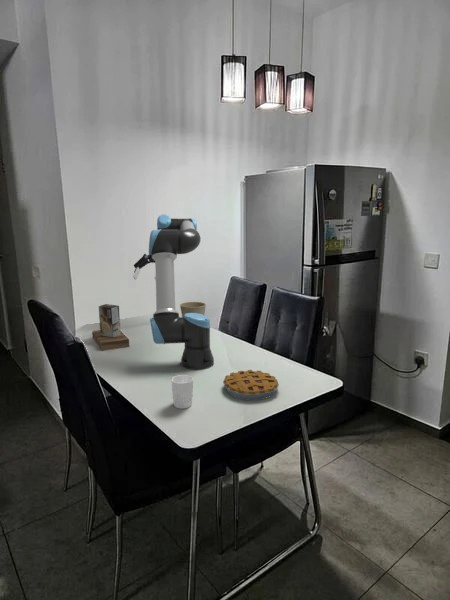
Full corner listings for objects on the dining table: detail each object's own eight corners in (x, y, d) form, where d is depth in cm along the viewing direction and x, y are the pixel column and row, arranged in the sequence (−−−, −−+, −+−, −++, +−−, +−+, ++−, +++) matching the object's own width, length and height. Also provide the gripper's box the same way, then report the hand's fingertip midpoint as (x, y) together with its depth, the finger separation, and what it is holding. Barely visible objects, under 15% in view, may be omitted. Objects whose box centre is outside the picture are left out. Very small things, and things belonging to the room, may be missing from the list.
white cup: (194, 399, 154) (193, 374, 152) (193, 409, 146) (192, 383, 144) (173, 399, 153) (172, 374, 151) (171, 409, 146) (170, 383, 144)
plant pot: (210, 329, 244) (210, 303, 240) (196, 335, 231) (195, 308, 228) (190, 325, 252) (190, 300, 248) (175, 331, 239) (174, 305, 236)
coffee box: (121, 334, 220) (119, 305, 216) (113, 337, 214) (111, 307, 211) (108, 332, 224) (106, 303, 220) (99, 335, 218) (97, 306, 214)
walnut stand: (129, 346, 213) (129, 339, 212) (102, 350, 206) (101, 343, 205) (117, 334, 233) (117, 327, 232) (92, 337, 227) (92, 331, 226)
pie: (232, 405, 149) (232, 393, 148) (216, 382, 170) (216, 370, 169) (287, 398, 155) (288, 386, 154) (265, 376, 176) (266, 365, 175)
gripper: (180, 254, 232) (167, 284, 222) (142, 252, 241) (128, 281, 231) (175, 245, 226) (162, 276, 216) (136, 243, 235) (122, 273, 225)
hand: (145, 278), depth 223 cm, fingers open, 13 cm apart
